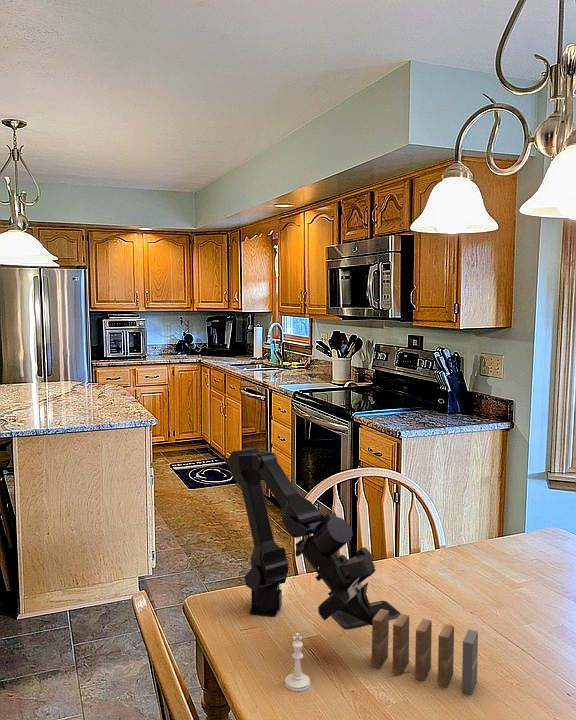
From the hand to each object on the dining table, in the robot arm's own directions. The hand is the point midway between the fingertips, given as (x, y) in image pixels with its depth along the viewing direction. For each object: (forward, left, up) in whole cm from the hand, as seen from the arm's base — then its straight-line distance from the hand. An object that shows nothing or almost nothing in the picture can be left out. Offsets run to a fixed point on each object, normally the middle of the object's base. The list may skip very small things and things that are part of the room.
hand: (374, 624), depth 126 cm
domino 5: (+18, -5, -8) cm, 21 cm away
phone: (-4, +18, -8) cm, 20 cm away
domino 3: (+10, -2, -8) cm, 13 cm away
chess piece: (-14, -11, -8) cm, 19 cm away
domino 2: (+5, -1, -8) cm, 10 cm away
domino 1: (+1, 0, -8) cm, 8 cm away
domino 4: (+14, -4, -8) cm, 17 cm away
